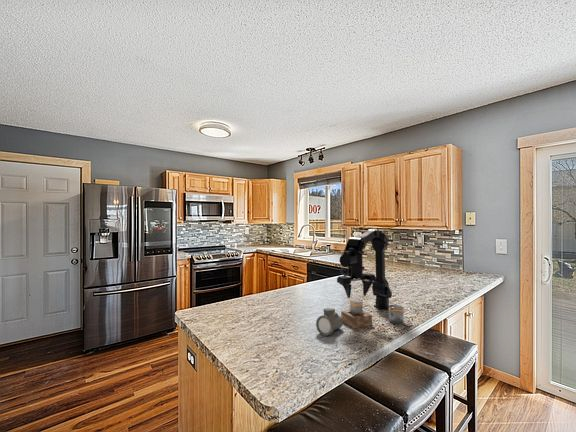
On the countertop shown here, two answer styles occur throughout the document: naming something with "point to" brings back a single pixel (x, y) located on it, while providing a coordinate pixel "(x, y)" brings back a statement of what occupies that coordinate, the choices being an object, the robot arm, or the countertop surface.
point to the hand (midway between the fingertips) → (356, 296)
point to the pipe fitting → (328, 322)
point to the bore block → (356, 319)
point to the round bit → (396, 314)
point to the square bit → (356, 307)
